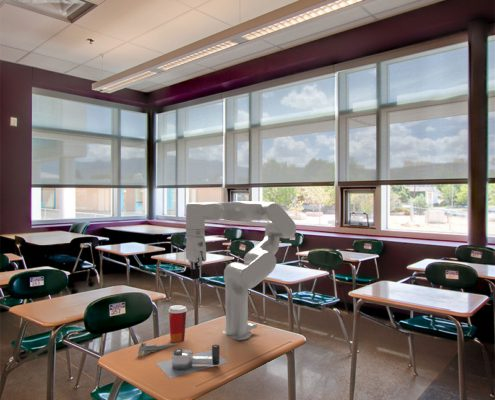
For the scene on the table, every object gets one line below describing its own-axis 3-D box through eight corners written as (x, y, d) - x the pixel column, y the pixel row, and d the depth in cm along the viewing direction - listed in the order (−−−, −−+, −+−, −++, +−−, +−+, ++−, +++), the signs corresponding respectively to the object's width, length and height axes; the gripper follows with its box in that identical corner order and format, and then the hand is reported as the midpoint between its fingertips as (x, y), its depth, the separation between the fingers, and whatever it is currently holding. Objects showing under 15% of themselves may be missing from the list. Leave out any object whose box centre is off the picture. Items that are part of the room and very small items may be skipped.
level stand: (211, 353, 144) (211, 349, 144) (228, 366, 133) (228, 362, 133) (155, 367, 132) (155, 362, 132) (169, 382, 121) (169, 377, 121)
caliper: (139, 361, 137) (139, 344, 137) (138, 360, 138) (138, 343, 138) (185, 346, 152) (185, 330, 152) (183, 345, 152) (183, 329, 152)
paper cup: (179, 336, 162) (179, 303, 162) (190, 340, 156) (190, 307, 156) (164, 340, 156) (164, 307, 156) (174, 346, 151) (175, 311, 151)
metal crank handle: (220, 361, 133) (220, 342, 133) (218, 370, 126) (218, 350, 126) (174, 360, 133) (174, 341, 133) (170, 369, 126) (170, 349, 126)
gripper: (212, 234, 147) (212, 281, 147) (195, 231, 160) (195, 274, 160) (194, 235, 143) (194, 283, 143) (179, 232, 156) (178, 276, 156)
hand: (195, 278), depth 151 cm, fingers closed
